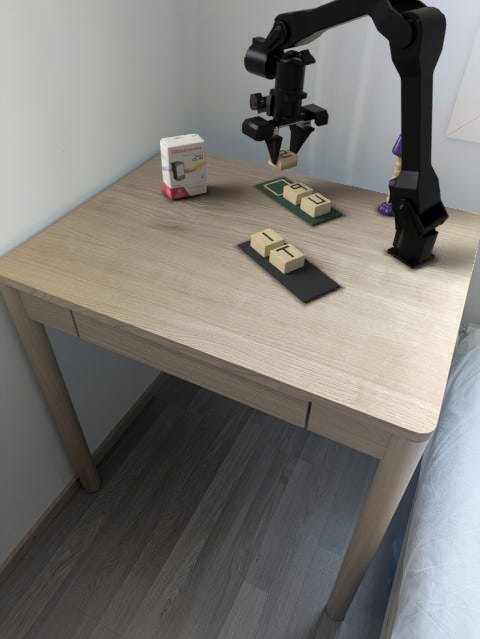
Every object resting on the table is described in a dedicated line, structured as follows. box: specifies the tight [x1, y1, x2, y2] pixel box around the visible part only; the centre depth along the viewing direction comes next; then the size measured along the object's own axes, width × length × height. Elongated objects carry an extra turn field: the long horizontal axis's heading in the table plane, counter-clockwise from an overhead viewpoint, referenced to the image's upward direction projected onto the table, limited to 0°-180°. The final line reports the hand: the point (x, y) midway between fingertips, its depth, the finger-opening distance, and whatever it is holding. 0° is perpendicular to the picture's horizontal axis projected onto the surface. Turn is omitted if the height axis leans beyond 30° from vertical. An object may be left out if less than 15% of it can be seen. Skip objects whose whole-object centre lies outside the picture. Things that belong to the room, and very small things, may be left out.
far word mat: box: [255, 176, 343, 227], centre depth 107 cm, size 20×8×3 cm, turn 34°
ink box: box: [159, 133, 208, 200], centre depth 106 cm, size 9×5×12 cm, turn 116°
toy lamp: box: [377, 133, 401, 217], centre depth 100 cm, size 5×5×17 cm
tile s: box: [267, 147, 299, 172], centre depth 107 cm, size 4×4×3 cm
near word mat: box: [237, 228, 341, 304], centre depth 89 cm, size 20×8×3 cm, turn 34°
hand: (283, 161), depth 107 cm, fingers closed on tile s, 4 cm apart
